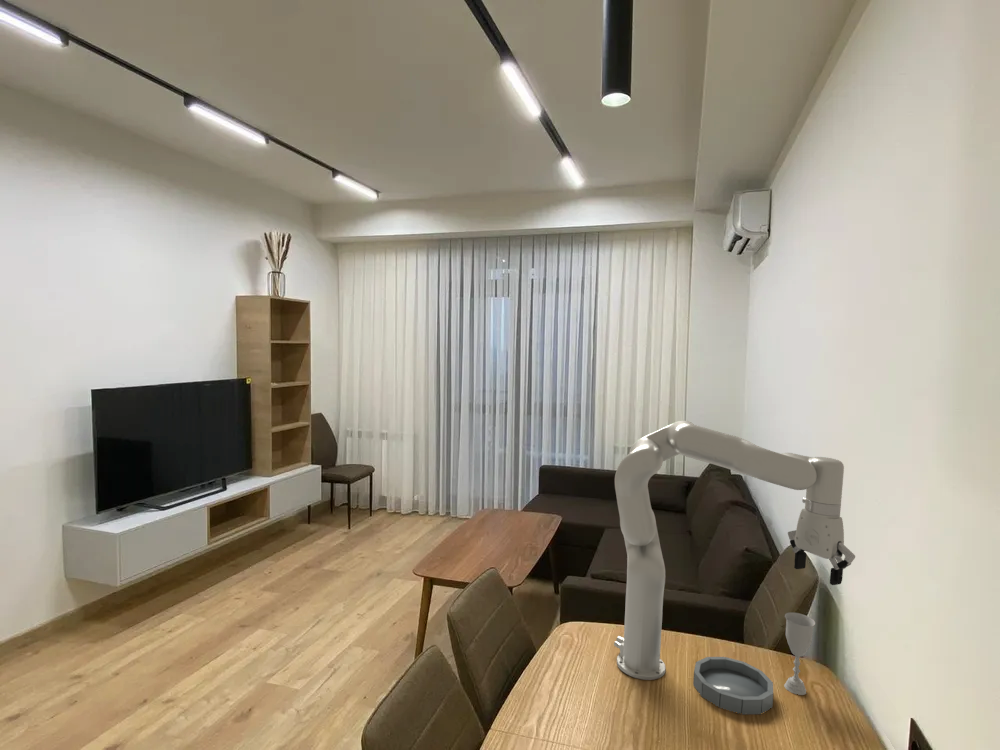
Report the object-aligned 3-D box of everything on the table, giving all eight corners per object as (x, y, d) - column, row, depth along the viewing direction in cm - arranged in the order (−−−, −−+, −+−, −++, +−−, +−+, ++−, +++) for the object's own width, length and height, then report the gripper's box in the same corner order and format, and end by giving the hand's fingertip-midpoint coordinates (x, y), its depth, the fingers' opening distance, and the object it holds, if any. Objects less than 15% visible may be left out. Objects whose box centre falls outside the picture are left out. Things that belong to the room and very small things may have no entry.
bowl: (679, 682, 138) (679, 669, 138) (721, 662, 148) (721, 650, 148) (745, 724, 123) (746, 709, 123) (786, 698, 134) (787, 684, 134)
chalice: (815, 699, 134) (820, 628, 133) (785, 695, 135) (789, 624, 134) (804, 682, 141) (809, 614, 140) (776, 678, 142) (780, 610, 142)
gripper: (781, 499, 141) (776, 564, 141) (845, 519, 125) (839, 592, 125) (802, 497, 143) (797, 561, 144) (867, 517, 127) (861, 589, 128)
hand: (816, 576), depth 135 cm, fingers open, 9 cm apart
